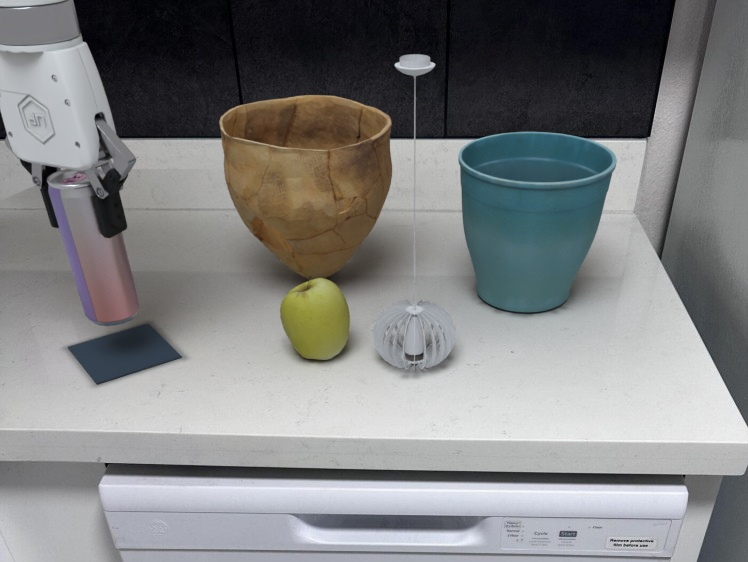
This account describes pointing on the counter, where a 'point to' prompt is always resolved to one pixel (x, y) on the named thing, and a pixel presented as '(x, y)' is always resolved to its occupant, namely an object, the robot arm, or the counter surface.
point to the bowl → (308, 176)
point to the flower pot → (531, 213)
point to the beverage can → (93, 251)
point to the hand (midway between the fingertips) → (89, 226)
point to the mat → (123, 353)
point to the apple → (316, 319)
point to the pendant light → (422, 310)
